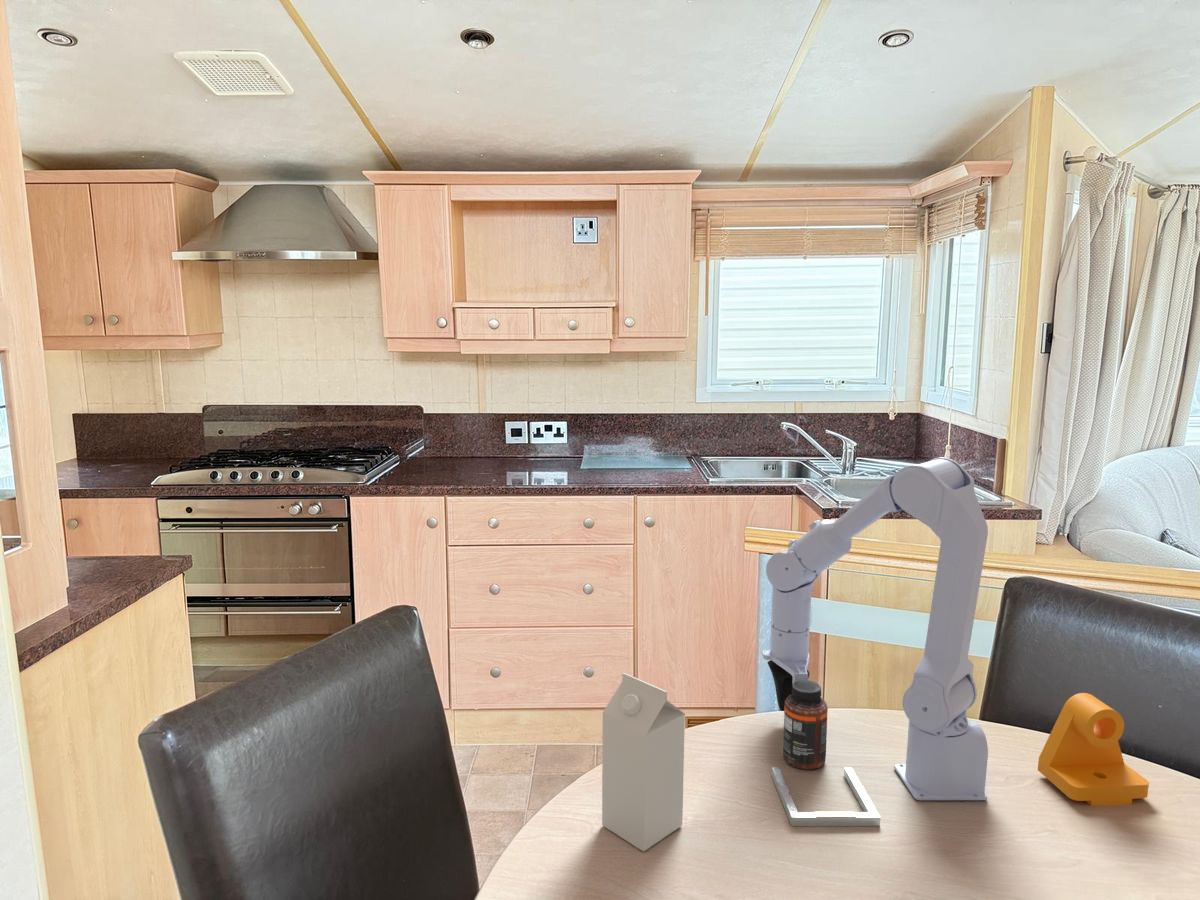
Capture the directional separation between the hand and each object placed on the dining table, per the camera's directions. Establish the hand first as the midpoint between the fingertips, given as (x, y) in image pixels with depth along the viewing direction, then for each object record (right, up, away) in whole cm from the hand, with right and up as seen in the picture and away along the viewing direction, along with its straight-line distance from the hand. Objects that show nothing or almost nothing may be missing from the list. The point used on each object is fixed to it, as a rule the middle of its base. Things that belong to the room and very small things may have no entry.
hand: (786, 708), depth 122 cm
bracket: (+37, -6, -17) cm, 41 cm away
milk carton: (-24, -7, -25) cm, 35 cm away
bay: (0, -5, -19) cm, 20 cm away
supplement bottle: (0, -4, -10) cm, 11 cm away
